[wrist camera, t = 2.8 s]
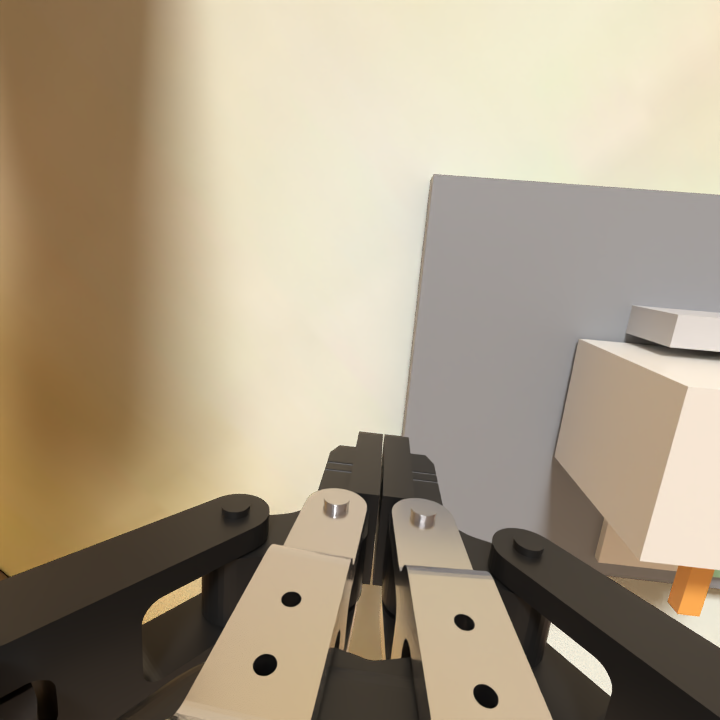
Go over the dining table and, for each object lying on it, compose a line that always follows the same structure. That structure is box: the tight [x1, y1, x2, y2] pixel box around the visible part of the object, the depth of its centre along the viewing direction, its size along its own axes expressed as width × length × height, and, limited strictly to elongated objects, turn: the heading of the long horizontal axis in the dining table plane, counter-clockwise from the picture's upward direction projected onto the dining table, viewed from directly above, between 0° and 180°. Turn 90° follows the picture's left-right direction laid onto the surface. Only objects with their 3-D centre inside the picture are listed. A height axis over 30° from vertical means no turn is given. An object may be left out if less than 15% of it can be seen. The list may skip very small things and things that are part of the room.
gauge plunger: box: [554, 339, 720, 616], centre depth 16 cm, size 8×9×7 cm
